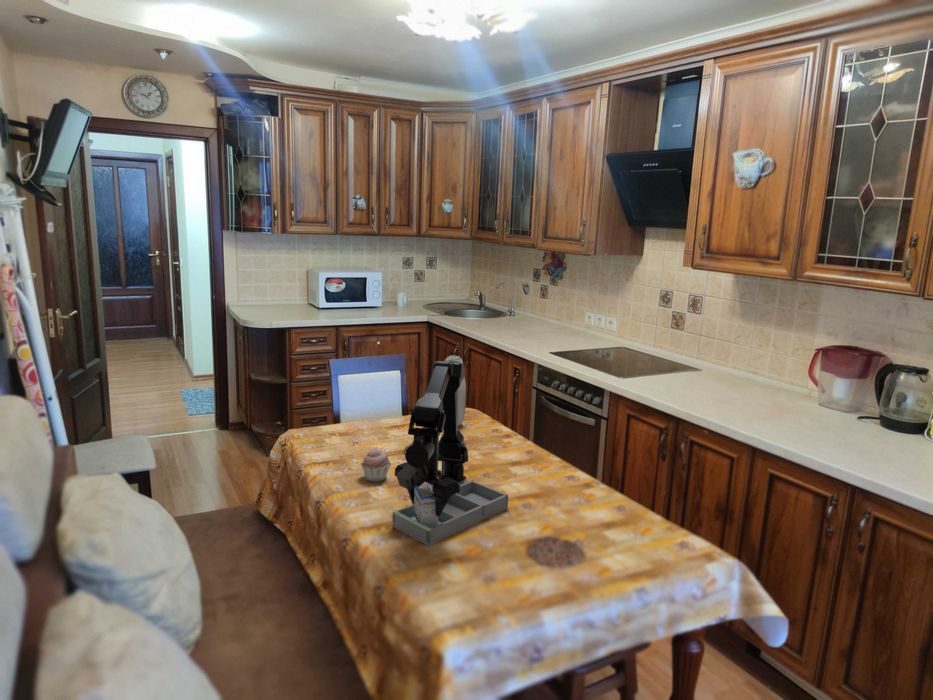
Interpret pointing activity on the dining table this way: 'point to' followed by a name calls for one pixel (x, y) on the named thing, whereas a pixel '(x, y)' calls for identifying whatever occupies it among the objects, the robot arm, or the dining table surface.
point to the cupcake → (375, 465)
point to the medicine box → (425, 506)
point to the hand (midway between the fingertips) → (425, 509)
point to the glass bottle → (459, 391)
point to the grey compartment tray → (453, 513)
